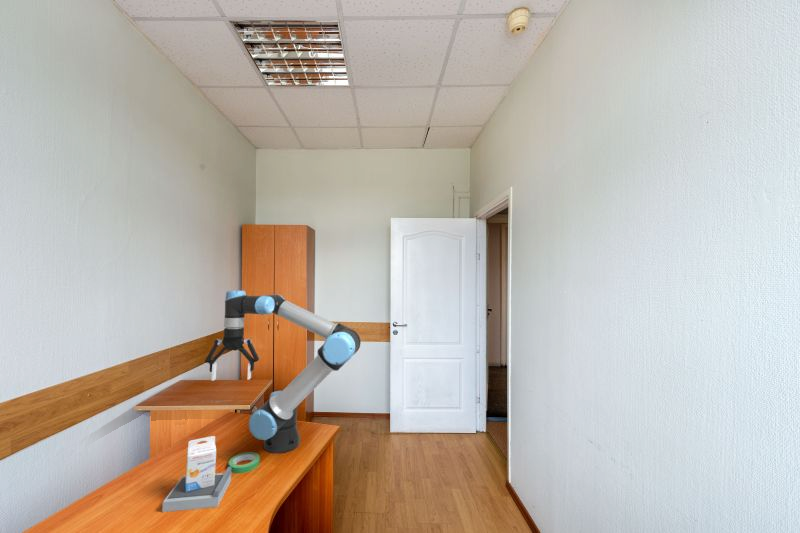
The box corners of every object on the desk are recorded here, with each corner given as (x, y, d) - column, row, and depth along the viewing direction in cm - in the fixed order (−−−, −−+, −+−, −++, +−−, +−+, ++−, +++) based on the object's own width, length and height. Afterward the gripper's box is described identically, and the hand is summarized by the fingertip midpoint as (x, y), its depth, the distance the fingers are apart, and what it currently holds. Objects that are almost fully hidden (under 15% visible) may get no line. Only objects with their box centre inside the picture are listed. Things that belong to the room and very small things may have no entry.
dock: (230, 480, 121) (231, 466, 121) (217, 506, 107) (218, 490, 107) (182, 484, 118) (183, 470, 118) (162, 512, 104) (163, 495, 104)
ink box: (185, 493, 108) (187, 447, 109) (185, 485, 112) (187, 440, 113) (214, 485, 113) (217, 440, 113) (213, 477, 117) (216, 435, 117)
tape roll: (243, 477, 124) (244, 469, 124) (221, 470, 128) (222, 463, 128) (265, 462, 134) (265, 455, 134) (244, 456, 138) (244, 449, 138)
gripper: (267, 326, 145) (265, 375, 144) (204, 326, 140) (202, 377, 139) (263, 328, 137) (261, 380, 136) (197, 328, 132) (194, 382, 131)
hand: (231, 379), depth 138 cm, fingers open, 13 cm apart
